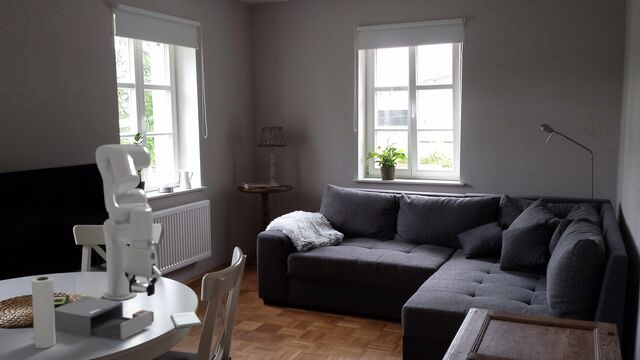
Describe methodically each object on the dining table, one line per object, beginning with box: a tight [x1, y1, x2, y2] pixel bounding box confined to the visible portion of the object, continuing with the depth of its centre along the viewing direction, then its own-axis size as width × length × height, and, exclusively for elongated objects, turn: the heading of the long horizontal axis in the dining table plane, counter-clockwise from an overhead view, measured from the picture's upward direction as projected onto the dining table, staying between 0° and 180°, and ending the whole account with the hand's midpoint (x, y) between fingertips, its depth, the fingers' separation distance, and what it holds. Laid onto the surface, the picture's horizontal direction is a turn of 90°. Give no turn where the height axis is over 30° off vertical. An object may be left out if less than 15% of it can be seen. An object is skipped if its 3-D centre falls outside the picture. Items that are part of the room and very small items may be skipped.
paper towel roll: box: [31, 275, 57, 349], centre depth 184 cm, size 7×6×21 cm
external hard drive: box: [170, 311, 202, 329], centre depth 208 cm, size 2×8×12 cm
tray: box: [91, 310, 153, 340], centre depth 197 cm, size 14×17×5 cm
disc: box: [131, 280, 149, 294], centre depth 205 cm, size 7×7×2 cm
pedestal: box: [131, 309, 155, 323], centre depth 205 cm, size 5×5×4 cm
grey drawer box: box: [54, 296, 124, 338], centre depth 201 cm, size 16×16×7 cm
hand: (141, 293), depth 205 cm, fingers closed on disc, 7 cm apart
